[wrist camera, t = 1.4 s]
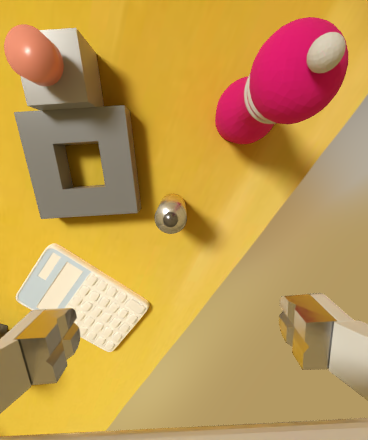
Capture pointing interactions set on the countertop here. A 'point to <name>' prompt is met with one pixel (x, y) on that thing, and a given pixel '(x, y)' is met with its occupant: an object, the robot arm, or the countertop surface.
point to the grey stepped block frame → (77, 137)
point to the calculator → (83, 296)
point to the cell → (171, 214)
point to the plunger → (33, 55)
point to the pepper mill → (285, 81)
